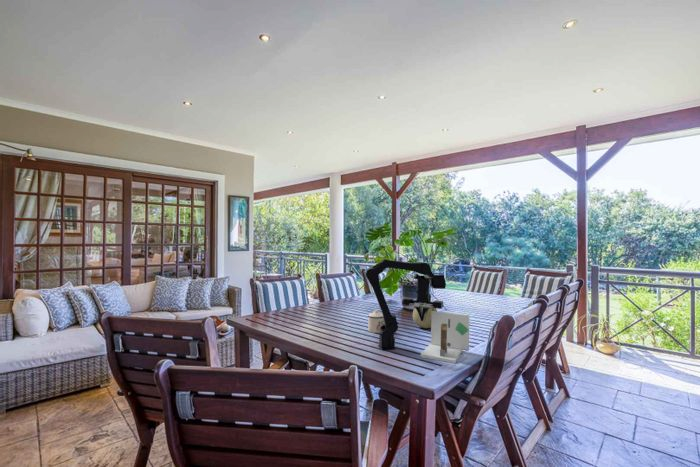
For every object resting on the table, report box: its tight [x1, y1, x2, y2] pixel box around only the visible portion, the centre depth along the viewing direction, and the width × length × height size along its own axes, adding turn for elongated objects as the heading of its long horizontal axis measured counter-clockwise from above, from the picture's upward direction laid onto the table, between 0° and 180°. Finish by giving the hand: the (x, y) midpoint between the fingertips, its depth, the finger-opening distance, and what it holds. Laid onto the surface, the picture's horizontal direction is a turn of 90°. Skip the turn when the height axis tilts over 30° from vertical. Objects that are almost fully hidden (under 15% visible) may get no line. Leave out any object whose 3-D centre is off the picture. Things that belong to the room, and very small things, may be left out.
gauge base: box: [420, 311, 470, 364], centre depth 158 cm, size 18×19×17 cm
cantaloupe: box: [412, 305, 438, 329], centre depth 204 cm, size 15×15×15 cm
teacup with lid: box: [367, 309, 384, 334], centre depth 196 cm, size 12×9×12 cm
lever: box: [441, 323, 447, 353], centre depth 154 cm, size 2×3×12 cm, turn 153°
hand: (422, 320), depth 166 cm, fingers closed
